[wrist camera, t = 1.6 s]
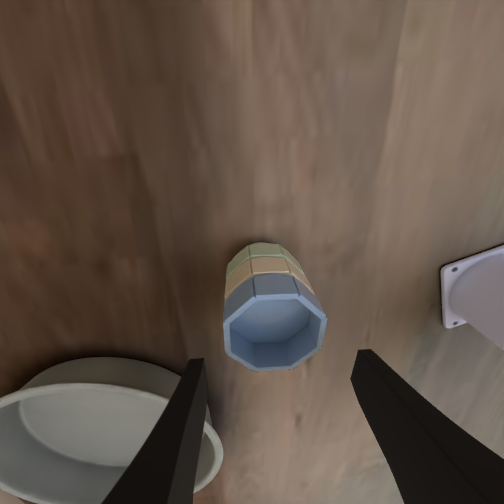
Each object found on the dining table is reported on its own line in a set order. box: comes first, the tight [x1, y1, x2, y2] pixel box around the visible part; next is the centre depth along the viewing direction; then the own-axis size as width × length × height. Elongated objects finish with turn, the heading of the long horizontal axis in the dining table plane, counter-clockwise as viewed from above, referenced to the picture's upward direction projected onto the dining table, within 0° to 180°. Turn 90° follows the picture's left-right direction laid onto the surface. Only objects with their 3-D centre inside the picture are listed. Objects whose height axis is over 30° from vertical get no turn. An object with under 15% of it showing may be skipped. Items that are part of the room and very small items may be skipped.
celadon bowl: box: [226, 242, 305, 282], centre depth 19 cm, size 6×6×4 cm
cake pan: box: [0, 357, 223, 504], centre depth 26 cm, size 25×25×4 cm
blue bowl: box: [223, 274, 327, 372], centre depth 15 cm, size 6×6×4 cm
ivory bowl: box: [225, 256, 315, 300], centre depth 17 cm, size 6×6×4 cm
